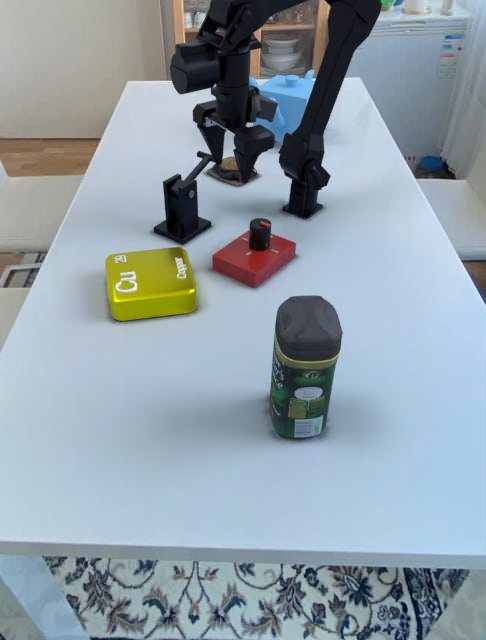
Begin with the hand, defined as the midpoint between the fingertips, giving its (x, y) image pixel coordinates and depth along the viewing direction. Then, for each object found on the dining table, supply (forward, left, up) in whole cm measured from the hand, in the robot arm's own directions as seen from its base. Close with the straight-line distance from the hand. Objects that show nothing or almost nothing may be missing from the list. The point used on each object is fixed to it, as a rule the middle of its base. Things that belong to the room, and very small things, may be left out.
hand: (231, 173), depth 106 cm
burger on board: (-21, -16, -12) cm, 29 cm away
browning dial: (+4, +10, -9) cm, 15 cm away
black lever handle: (+1, -9, -3) cm, 9 cm away
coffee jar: (+34, +38, -12) cm, 53 cm away
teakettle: (-45, -18, -12) cm, 50 cm away
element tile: (+25, +1, -12) cm, 28 cm away
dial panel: (+6, +10, -12) cm, 17 cm away
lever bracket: (+5, -9, -12) cm, 16 cm away
